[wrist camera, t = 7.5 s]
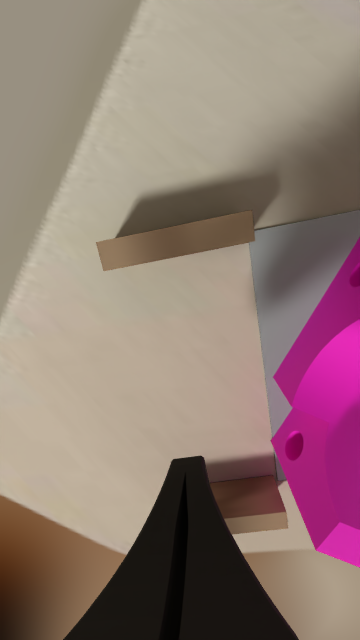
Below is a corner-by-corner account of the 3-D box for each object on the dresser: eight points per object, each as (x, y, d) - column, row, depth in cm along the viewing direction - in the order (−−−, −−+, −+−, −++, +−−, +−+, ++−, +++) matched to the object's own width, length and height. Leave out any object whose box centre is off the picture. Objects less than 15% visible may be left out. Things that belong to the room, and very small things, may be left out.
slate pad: (376, 206, 16) (383, 204, 16) (376, 462, 21) (381, 468, 20) (246, 232, 17) (248, 232, 16) (275, 474, 22) (277, 480, 21)
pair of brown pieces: (240, 216, 16) (251, 209, 13) (274, 490, 22) (288, 528, 19) (112, 242, 17) (95, 242, 14) (177, 501, 22) (175, 540, 19)
